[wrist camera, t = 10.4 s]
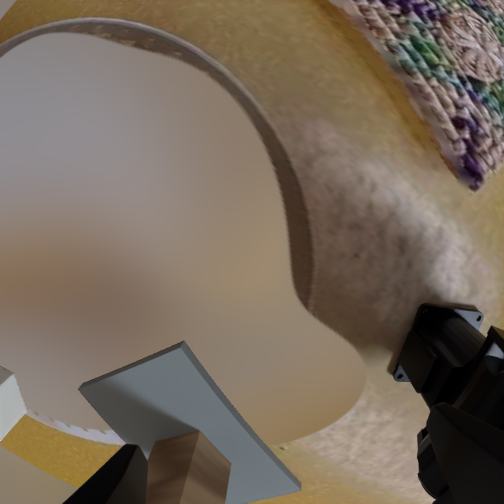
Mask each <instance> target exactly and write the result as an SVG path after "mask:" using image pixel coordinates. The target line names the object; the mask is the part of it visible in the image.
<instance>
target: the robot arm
mask: <svg viewBox="0 0 504 504" xmlns="http://www.w3.org/2000/svg"><path fill="white" fill-rule="evenodd" d="M425 309H427V311H426V312H425V313H423V311H424V310H425ZM478 316H479V317H478ZM477 317H478V318H477ZM482 320H483V313H481V312H480V311H477V310H470V309H463V308H456V307H449V306H442V305H435V304H428V303H424V304H422V305H421V306H420V307H419V309H418V312H417V314H416V317H415V320H414V323H413V326H412V328H411V330H410V332H409V333H408V336H407V338H406V341H405V343H404V346H403V348H402V351H401V353H400V356H399V358H398V363H397V366H396V368H395V370H394V372H393V378H394V380H395V381H398V382H411V384H412V385H413V387H414V389H415V391H416V392H417V393H420V394H421V395H422V397H423V399H424V401H425V402H426V404H427V406H428V407H429V409H430V414H429V417H428V419H427V423H426V427H425V428H424V429H422V430H421V431H420V432H419V433H418V434H417V441H418V453H417V459H418V463H419V473H418V478H419V480H420V482H421V484H422V486H423V488H424V489H425V491H426V492H427V493H428V494H429V495H430V496H432V497H433V498H434V499H436V500H435V501H434V502H433V504H504V330H501V329H499V328H497V327H494V326H492V325H491V327H490V329H489V331H488V333H487V334H488V335H487V337H485V336H484V335H483V334H481V333H480V332H479V331H478V330H479V328H480V325H481V323H482ZM399 374H401V375H399ZM398 375H399V376H398ZM147 475H148V461H147V459H146V457H145V455H144V453H143V451H142V450H141V448H140V446H139V445H137V444H125V445H124V446H123V447H122V448H121V449H120V450H118V451H117V452H116V453H115V454H114V455H113V456H112V457H111V458H110V459H109V460H108V461H107V462H106V463H105V464H104V465H103V466H102V467H101V468H100V469H99V470H98V471H97V472H96V473H95V474H94V475H93V476H91V477H90V478H89V479H88V480H87V481H86V482H85V483H84V484H83V485H82V486H81V487H80V488H79V489H78V490H77V491H75V493H73V494H72V495H71V496H70V497H69V498H68V499H67V500H66V501H65V502H63V504H146V492H147Z"/></svg>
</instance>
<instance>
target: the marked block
mask: <svg viewBox="0 0 504 504" xmlns="http://www.w3.org/2000/svg"><path fill="white" fill-rule="evenodd" d="M147 461H148V475H147V492H146V504H225V502H226V496H227V489H228V483H229V477H230V470H231V464H232V463H231V462H230V461H229V460H228V459H227V458H226V457H225V456H224V455H223V454H222V453H221V452H220V451H219V450H218V449H217V448H216V447H215V446H214V445H213V444H212V443H211V442H210V441H209V440H208V439H207V437H206V436H205V435H204V434H203V433H202V432H201V431H197V432H193V433H189V434H185V435H181V436H176V437H172V438H168V439H163V440H159V441H155V443H154V446H153V448H152V450H151V453H150V455H149V457H148V460H147Z"/></svg>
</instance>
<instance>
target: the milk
mask: <svg viewBox="0 0 504 504" xmlns="http://www.w3.org/2000/svg"><path fill="white" fill-rule="evenodd" d="M26 412H27V409H26V407H25V404H24V401H23V398H22V396H21V393H20V390H19V387H18V384H17V381H16V378H15V375H14V373H13V372H11V371H9V370H7V369H5V368H3V367H1V366H0V441H1V440H2V439H3V438H4V437H5V436H6V434H7V433H8V432H9V431H10V430H11V429H12V428H13V427H14V425H15V424H16V423H17V422H18V421H19V420H20V419H21V418H22V416H23V415H24V414H25V413H26Z"/></svg>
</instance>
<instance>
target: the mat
mask: <svg viewBox="0 0 504 504" xmlns="http://www.w3.org/2000/svg"><path fill="white" fill-rule="evenodd" d="M78 390H79V391H80V392H81V394H82V395H83V396H84V397H85V398H86V400H87V401H88V402H89V403H90V404H91V406H92V407H93V408H94V409H95V410H96V411H97V413H98V414H99V415H100V416H101V417H102V418H103V419H104V420H105V422H106V423H107V424H108V425H109V426H110V427H111V428H112V429H113V430H114V431H115V432H116V433H117V434H118V435H119V437H120V438H121V439H122V440H123V441H124V442H125V443H126V444H137V445H139V446H140V448H141V450H142V451H143V453H144V455H145V457H146V459H147V460H148V457H149V455H150V453H151V450H152V448H153V446H154V443H155V441H159V440H163V439H168V438H172V437H176V436H181V435H185V434H189V433H193V432H197V431H201V432H202V433H203V434H204V435H205V436H206V437H207V439H208V440H209V441H210V442H211V443H212V444H213V445H214V446H215V447H216V448H217V449H218V450H219V451H220V452H221V453H222V454H223V455H224V456H225V457H226V458H227V459H228V460H229V461H230V462H231V463H232V464H231V470H230V477H229V483H228V489H227V496H226V502H225V504H244V503H249V502H254V501H259V500H264V499H269V498H273V497H278V496H282V495H286V494H290V493H293V492H297V491H301V483H300V482H299V481H298V479H297V478H296V477H295V476H294V475H293V474H292V473H291V472H290V471H289V470H288V469H287V468H286V467H285V466H284V465H283V463H282V462H281V461H280V460H279V459H278V458H277V457H276V456H275V455H274V454H273V452H272V451H271V450H270V449H269V448H268V447H267V446H266V445H265V443H264V442H263V441H262V440H261V439H260V438H259V436H258V435H257V434H256V433H255V432H254V431H253V429H252V428H251V427H250V426H249V425H248V423H247V422H246V421H245V420H244V419H243V418H242V416H241V415H240V414H239V413H238V411H237V410H236V409H235V408H234V406H233V405H232V404H231V403H230V401H229V400H228V399H227V398H226V396H225V395H224V394H223V392H222V391H221V390H220V389H219V387H218V386H217V385H216V383H215V382H214V381H213V379H212V378H211V377H210V376H209V374H208V373H207V371H206V370H205V369H204V367H203V366H202V365H201V363H200V362H199V361H198V359H197V358H196V356H195V355H194V354H193V352H192V351H191V349H190V348H189V347H188V345H187V344H186V342H185V341H182V342H180V343H177V344H175V345H173V346H171V347H169V348H166V349H164V350H161V351H159V352H157V353H155V354H153V355H150V356H148V357H145V358H143V359H141V360H138V361H136V362H134V363H131V364H129V365H127V366H124V367H122V368H119V369H117V370H114V371H112V372H110V373H107V374H105V375H102V376H100V377H97V378H95V379H92V380H90V381H87V382H85V383H83V384H82V385H81V386H80V387H79V389H78Z"/></svg>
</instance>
